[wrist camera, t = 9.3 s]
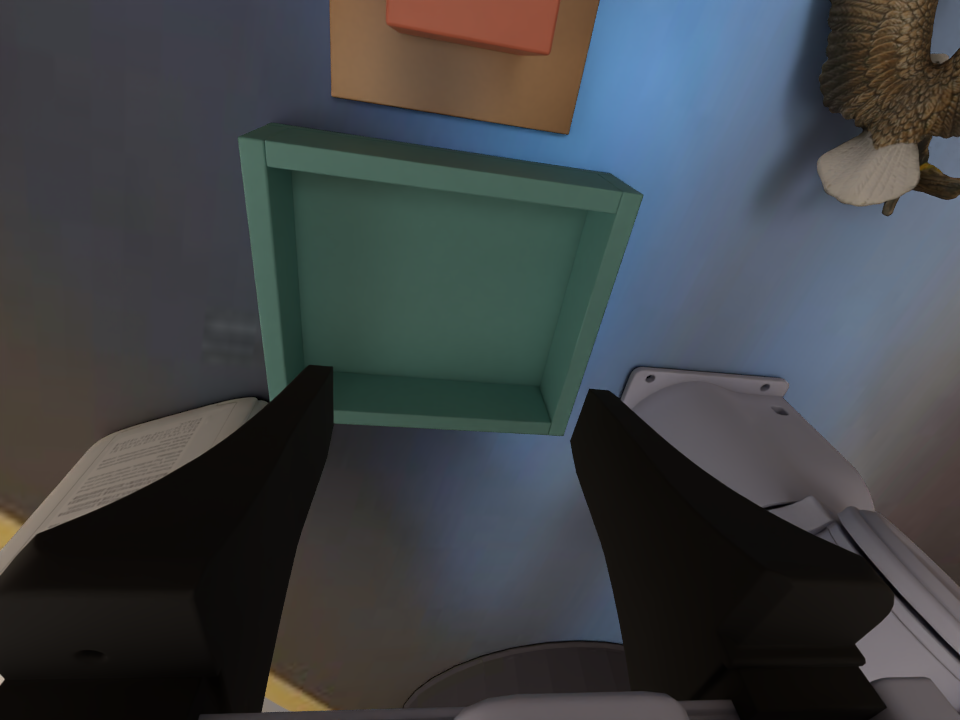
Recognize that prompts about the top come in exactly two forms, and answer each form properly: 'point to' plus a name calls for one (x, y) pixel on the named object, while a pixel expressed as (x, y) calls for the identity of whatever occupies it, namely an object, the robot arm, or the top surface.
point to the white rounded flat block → (132, 464)
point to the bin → (430, 276)
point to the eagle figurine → (888, 101)
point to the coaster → (459, 69)
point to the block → (480, 23)
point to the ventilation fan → (528, 674)
